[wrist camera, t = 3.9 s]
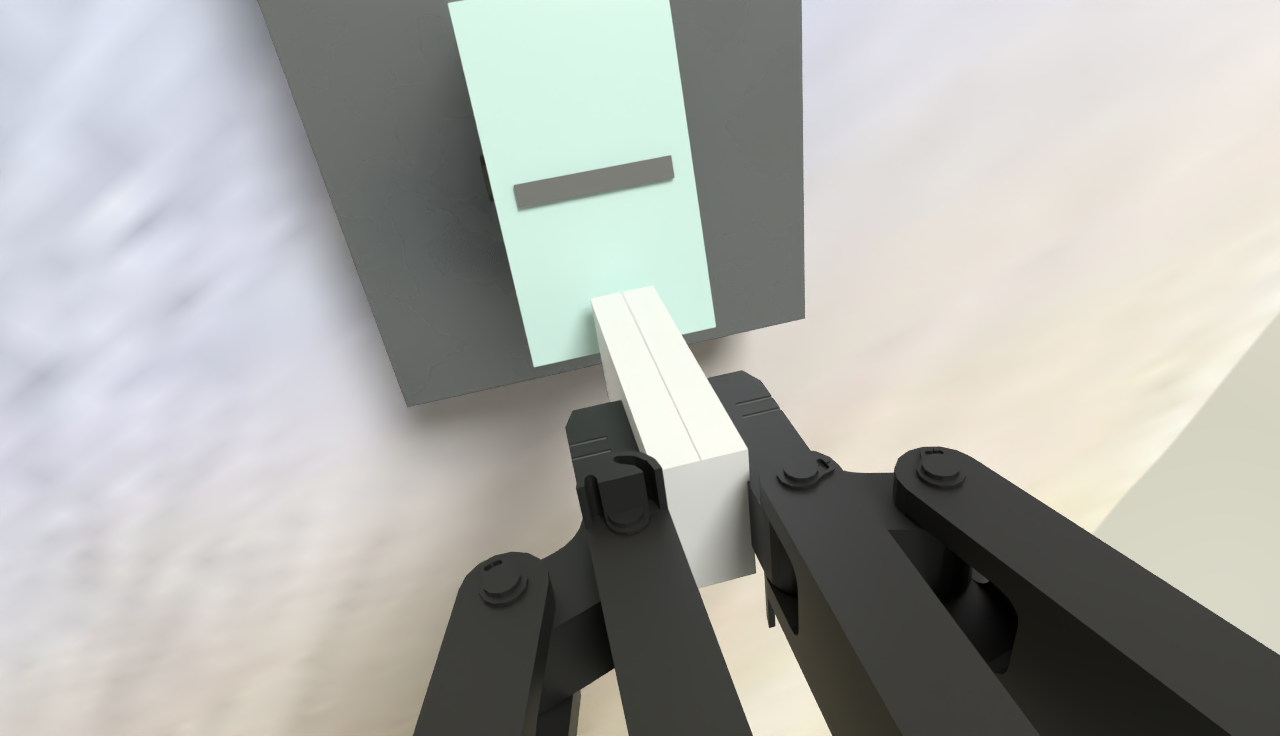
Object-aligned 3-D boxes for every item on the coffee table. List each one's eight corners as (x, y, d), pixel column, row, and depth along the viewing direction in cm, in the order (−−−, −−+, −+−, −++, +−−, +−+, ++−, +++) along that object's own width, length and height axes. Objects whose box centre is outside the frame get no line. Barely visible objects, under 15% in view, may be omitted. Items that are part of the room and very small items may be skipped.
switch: (531, 345, 19) (534, 369, 17) (454, 20, 16) (446, 1, 14) (695, 310, 19) (717, 328, 17) (647, -12, 17) (666, -34, 15)
